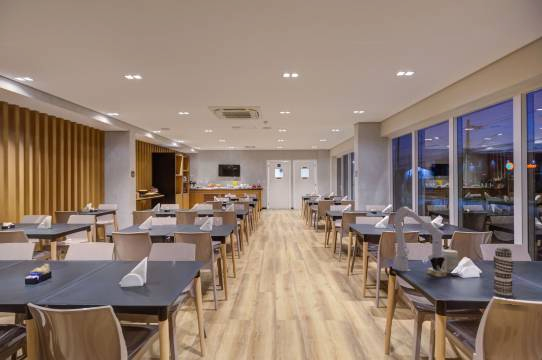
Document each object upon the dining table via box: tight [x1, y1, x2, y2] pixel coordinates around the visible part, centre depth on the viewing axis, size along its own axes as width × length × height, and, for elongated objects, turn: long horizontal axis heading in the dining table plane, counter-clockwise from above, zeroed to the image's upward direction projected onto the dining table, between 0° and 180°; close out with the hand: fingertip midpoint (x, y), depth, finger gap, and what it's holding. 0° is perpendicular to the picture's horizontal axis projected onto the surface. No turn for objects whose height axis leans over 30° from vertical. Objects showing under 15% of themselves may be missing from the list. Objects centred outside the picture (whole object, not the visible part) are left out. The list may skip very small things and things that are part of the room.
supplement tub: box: [441, 249, 459, 274], centre depth 224 cm, size 10×10×15 cm
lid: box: [426, 265, 447, 273], centre depth 216 cm, size 9×7×4 cm
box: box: [427, 270, 448, 278], centre depth 216 cm, size 9×7×3 cm
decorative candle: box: [493, 246, 514, 296], centre depth 183 cm, size 9×9×25 cm
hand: (436, 268), depth 216 cm, fingers open, 4 cm apart
